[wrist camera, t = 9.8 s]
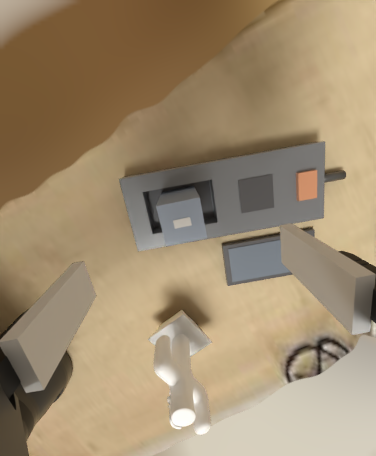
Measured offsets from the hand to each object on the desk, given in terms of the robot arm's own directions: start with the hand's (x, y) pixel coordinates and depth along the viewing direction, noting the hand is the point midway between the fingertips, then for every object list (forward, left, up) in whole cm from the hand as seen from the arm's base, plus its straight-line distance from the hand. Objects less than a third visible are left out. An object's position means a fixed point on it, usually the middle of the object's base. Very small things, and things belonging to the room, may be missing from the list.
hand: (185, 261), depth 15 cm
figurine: (-4, -21, -19) cm, 28 cm away
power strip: (+8, 0, -19) cm, 20 cm away
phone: (+12, -11, -19) cm, 25 cm away
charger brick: (0, 0, -18) cm, 18 cm away
